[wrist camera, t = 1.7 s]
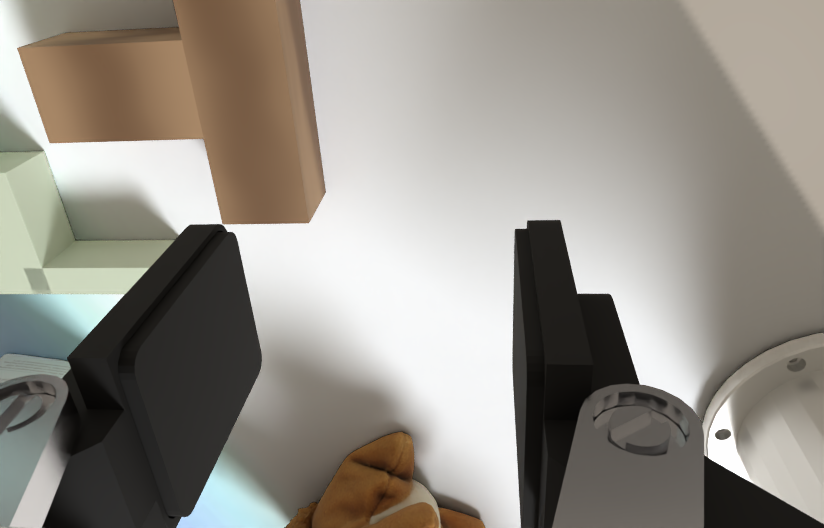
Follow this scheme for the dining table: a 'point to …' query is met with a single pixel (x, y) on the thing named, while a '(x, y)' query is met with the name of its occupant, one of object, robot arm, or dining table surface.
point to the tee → (197, 98)
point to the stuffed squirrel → (379, 493)
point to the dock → (57, 239)
